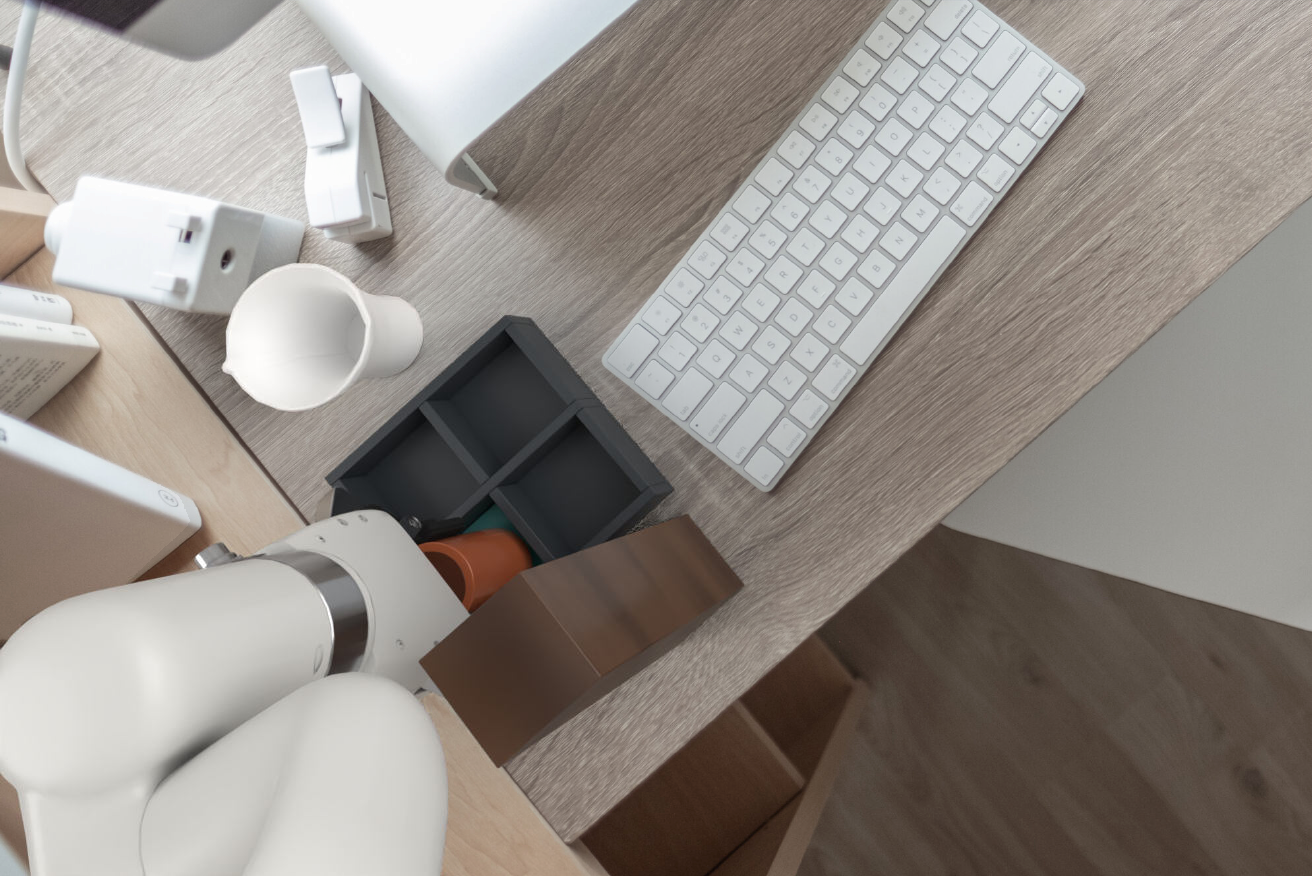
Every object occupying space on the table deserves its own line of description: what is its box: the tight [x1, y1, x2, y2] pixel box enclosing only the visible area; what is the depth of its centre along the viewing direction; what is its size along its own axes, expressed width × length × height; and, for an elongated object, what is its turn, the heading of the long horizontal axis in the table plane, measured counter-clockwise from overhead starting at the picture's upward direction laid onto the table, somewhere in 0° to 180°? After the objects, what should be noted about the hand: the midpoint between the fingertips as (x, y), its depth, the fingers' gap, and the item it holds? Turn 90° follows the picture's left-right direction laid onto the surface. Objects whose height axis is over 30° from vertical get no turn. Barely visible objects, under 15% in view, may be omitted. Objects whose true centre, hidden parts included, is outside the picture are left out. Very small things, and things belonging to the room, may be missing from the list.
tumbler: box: [417, 527, 532, 612], centre depth 71 cm, size 5×5×8 cm
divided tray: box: [324, 314, 675, 568], centre depth 76 cm, size 15×15×4 cm
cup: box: [221, 262, 424, 413], centre depth 74 cm, size 9×9×10 cm
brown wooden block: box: [419, 513, 745, 769], centre depth 64 cm, size 6×6×24 cm
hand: (472, 575), depth 72 cm, fingers open, 5 cm apart
